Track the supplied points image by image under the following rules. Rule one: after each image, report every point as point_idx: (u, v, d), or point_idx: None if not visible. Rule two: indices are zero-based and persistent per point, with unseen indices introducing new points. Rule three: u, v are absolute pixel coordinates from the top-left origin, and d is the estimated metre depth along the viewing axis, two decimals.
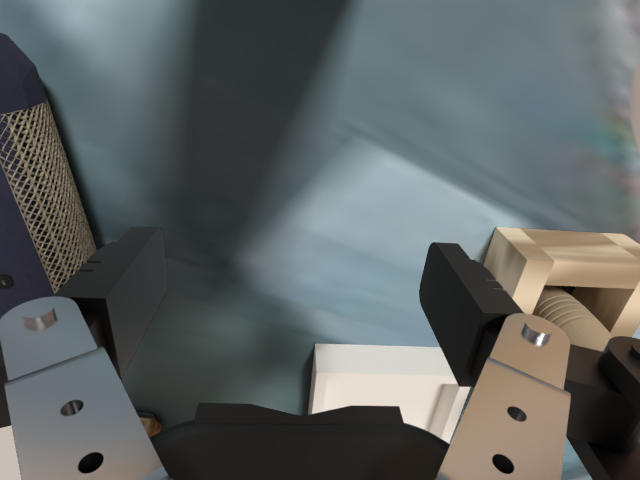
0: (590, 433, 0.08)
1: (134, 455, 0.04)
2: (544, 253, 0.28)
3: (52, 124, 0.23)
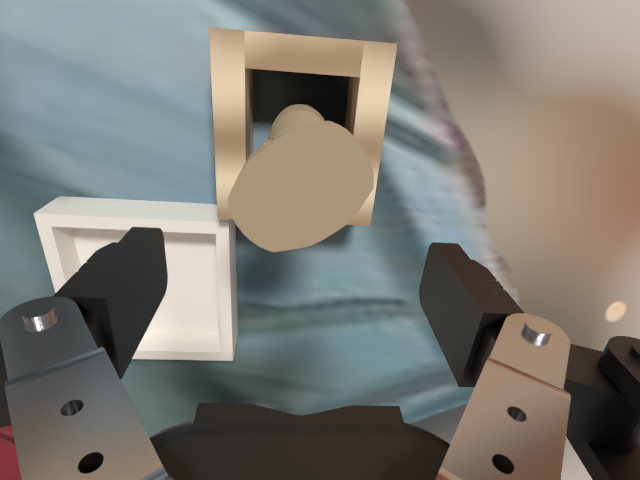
0: (590, 433, 0.08)
1: (134, 455, 0.04)
2: None
3: None
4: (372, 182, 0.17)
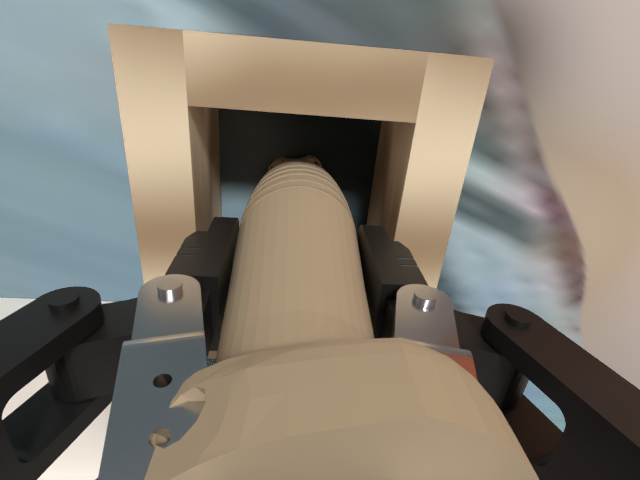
0: None
1: (134, 455, 0.04)
2: (185, 30, 0.12)
3: None
4: None
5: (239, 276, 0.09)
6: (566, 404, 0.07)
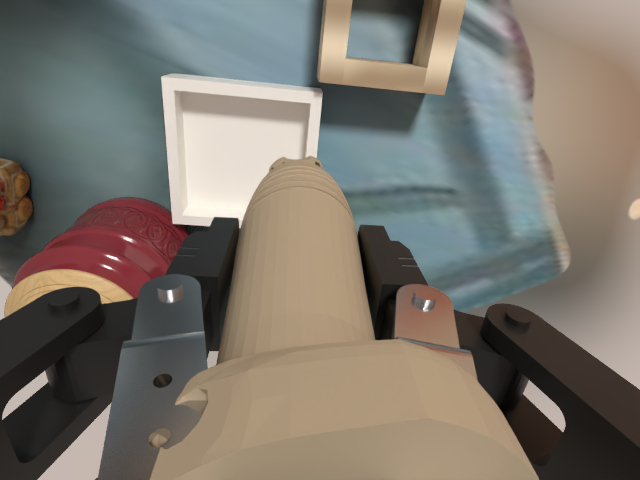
0: None
1: (134, 455, 0.04)
2: None
3: None
4: None
5: (240, 277, 0.09)
6: (566, 404, 0.07)
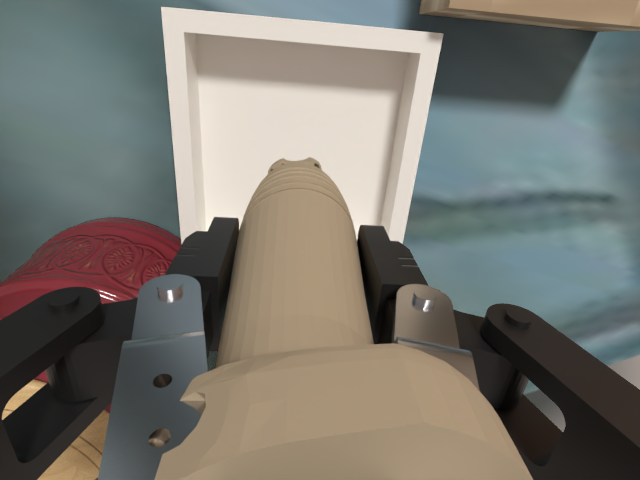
0: None
1: (134, 455, 0.04)
2: None
3: None
4: None
5: (239, 279, 0.09)
6: (566, 404, 0.07)
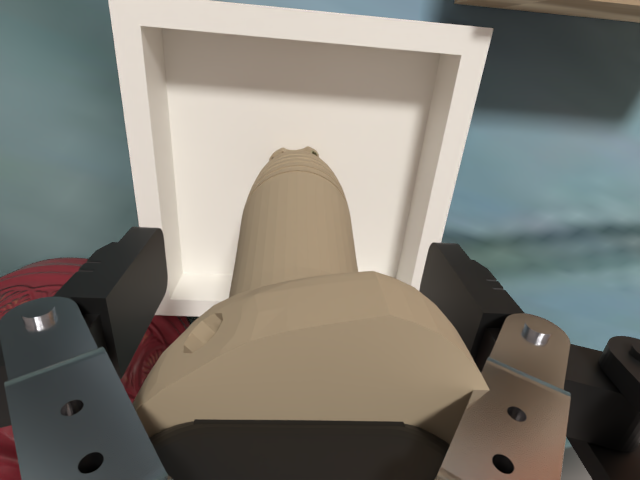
0: (590, 433, 0.08)
1: (134, 455, 0.04)
2: None
3: None
4: None
5: (245, 246, 0.10)
6: None
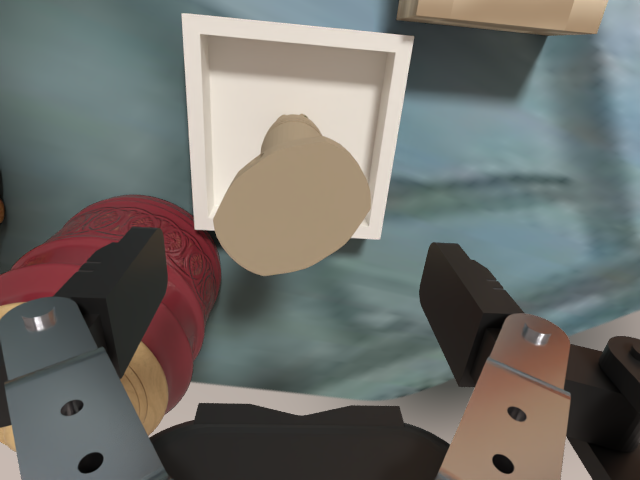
0: (590, 433, 0.08)
1: (134, 455, 0.04)
2: None
3: None
4: (369, 202, 0.16)
5: None
6: None
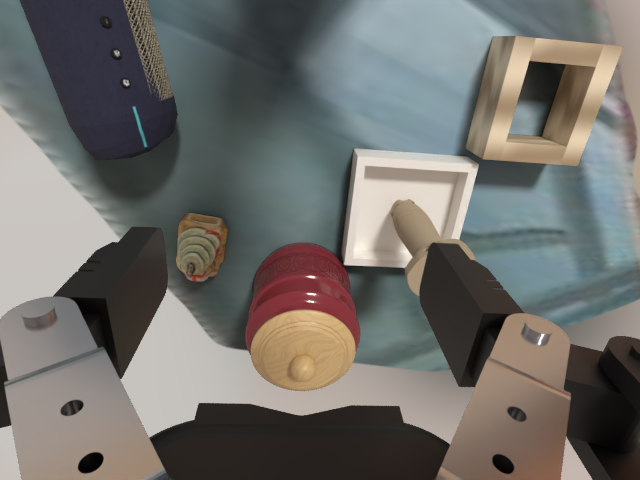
0: (590, 433, 0.08)
1: (134, 455, 0.04)
2: None
3: None
4: None
5: (413, 235, 0.41)
6: None
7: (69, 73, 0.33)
